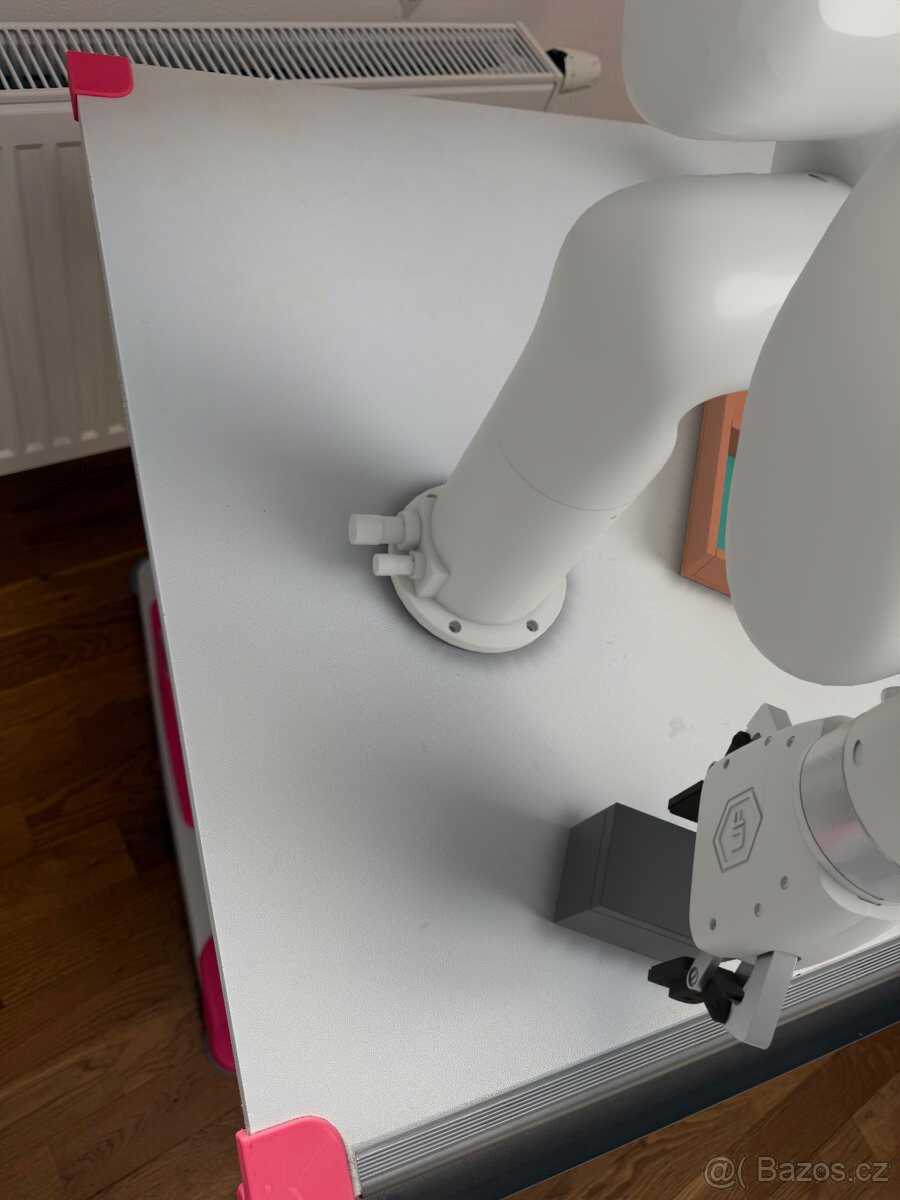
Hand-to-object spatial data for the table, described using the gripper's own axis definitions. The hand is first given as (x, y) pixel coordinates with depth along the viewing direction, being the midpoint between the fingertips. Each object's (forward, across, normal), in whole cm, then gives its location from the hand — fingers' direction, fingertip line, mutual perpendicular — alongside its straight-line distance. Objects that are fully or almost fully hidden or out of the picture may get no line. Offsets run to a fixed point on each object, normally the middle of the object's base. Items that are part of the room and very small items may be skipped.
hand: (681, 894), depth 54 cm
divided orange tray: (+4, -38, +6) cm, 39 cm away
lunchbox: (+5, -1, -1) cm, 5 cm away
